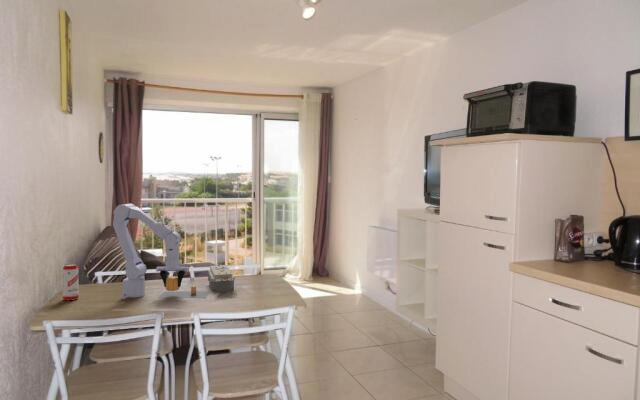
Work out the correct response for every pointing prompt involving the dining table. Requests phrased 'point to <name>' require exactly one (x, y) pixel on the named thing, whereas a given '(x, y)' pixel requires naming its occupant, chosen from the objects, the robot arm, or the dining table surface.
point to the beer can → (70, 282)
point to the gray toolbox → (221, 278)
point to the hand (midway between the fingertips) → (172, 286)
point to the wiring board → (185, 294)
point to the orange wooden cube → (172, 283)
